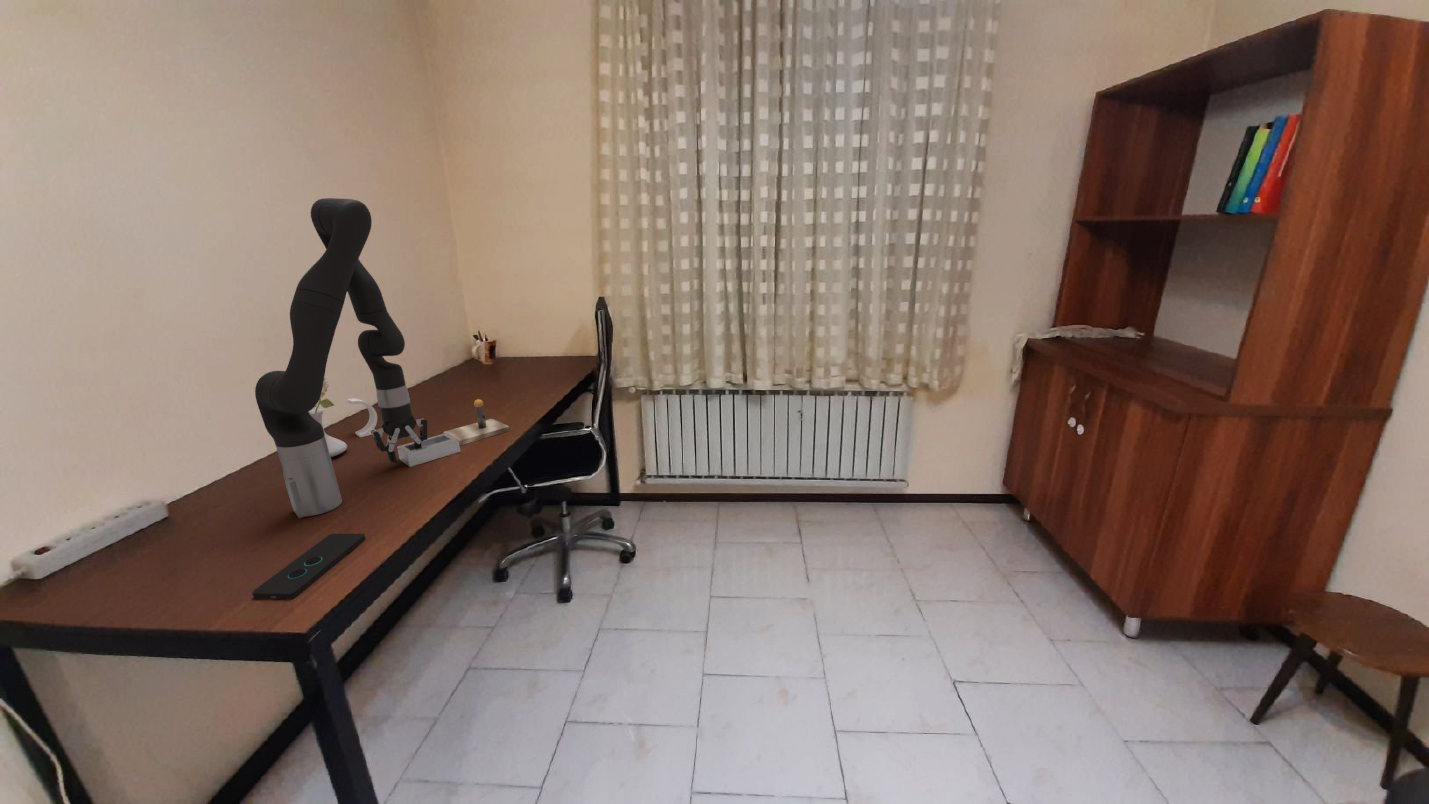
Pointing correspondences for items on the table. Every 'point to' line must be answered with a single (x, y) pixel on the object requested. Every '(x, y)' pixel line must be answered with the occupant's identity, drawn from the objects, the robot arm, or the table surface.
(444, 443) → the steel link
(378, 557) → the table surface
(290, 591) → the smart home device
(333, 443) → the flower in vase
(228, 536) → the table surface
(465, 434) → the beige plate with rod
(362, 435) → the headphone stand
